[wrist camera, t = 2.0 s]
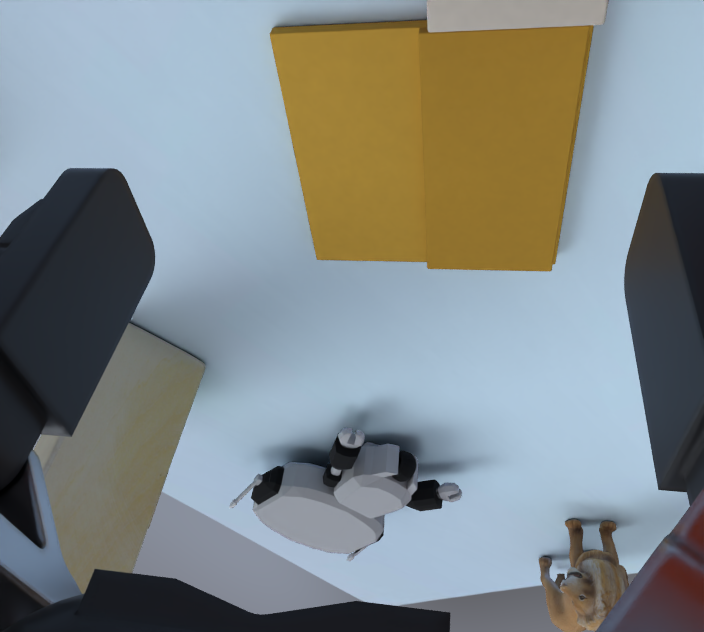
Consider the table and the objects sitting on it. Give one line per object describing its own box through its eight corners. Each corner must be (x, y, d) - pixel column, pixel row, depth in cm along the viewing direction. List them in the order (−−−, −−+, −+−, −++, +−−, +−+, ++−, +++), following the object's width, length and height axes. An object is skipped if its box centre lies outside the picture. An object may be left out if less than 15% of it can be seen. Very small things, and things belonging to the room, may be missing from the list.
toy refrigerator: (168, 409, 49) (41, 733, 35) (76, 364, 46) (-100, 698, 32) (219, 367, 44) (93, 727, 30) (119, 314, 41) (-70, 685, 27)
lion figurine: (557, 495, 50) (564, 617, 44) (629, 502, 49) (647, 627, 43) (534, 567, 61) (538, 673, 55) (593, 574, 60) (603, 682, 54)
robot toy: (349, 389, 45) (235, 466, 54) (342, 444, 42) (222, 517, 51) (472, 462, 50) (349, 522, 59) (474, 516, 47) (343, 571, 56)
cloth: (272, 26, 26) (266, 39, 25) (593, 11, 23) (596, 25, 23) (318, 252, 34) (314, 266, 34) (554, 256, 32) (555, 272, 31)
